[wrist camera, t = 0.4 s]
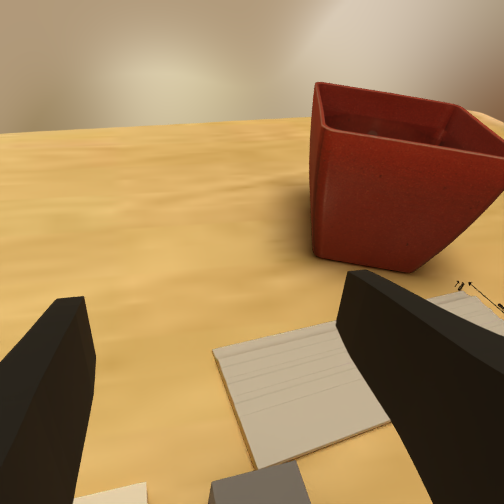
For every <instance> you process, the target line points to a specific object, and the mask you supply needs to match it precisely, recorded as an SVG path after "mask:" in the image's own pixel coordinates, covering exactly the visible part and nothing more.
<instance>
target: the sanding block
mask: <svg viewBox="0 0 504 504" xmlns="http://www.w3.org/2000/svg"><path fill="white" fill-rule="evenodd" d="M208 504H311V502H310V499H309V497H308V494H307V491H306V488H305V485H304V482H303V479H302V476H301V474H300V471H299V468H298V465H297V462H296V460H294V461H291V462H287V463H283V464H279V465H275V466H271V467H267V468H263V469H259V470H255V471H252V472H248V473H244V474H240V475H236V476H232V477H228V478H224V479H220V480H217V481H213V482H212V483H211V489H210V495H209V500H208Z"/></svg>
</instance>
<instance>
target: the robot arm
mask: <svg viewBox="0 0 504 504" xmlns="http://www.w3.org/2000/svg"><path fill="white" fill-rule="evenodd" d="M336 328H337V330H338V332H339V335H340V337H341V339H342V342H343V344H344V346H345V348H346V350H347V352H348V354H349V356H350V357H351V359H352V361H353V362H354V364H355V366H356V367H357V369H358V370H359V372H360V374H361V375H362V377H363V378H364V380H365V381H366V383H367V385H368V386H369V388H370V389H371V391H372V392H373V394H374V395H375V397H376V399H377V400H378V402H379V403H380V405H381V406H382V408H383V410H384V411H385V413H386V414H387V416H388V417H389V419H390V420H391V422H392V424H393V426H394V427H395V429H396V431H397V432H398V434H399V436H400V438H401V440H402V442H403V444H404V445H405V447H406V449H407V451H408V453H409V455H410V457H411V459H412V461H413V463H414V465H415V467H416V469H417V471H418V473H419V475H420V477H421V479H422V481H423V484H424V486H425V488H426V490H427V492H428V494H429V496H430V498H431V500H432V502H433V504H504V336H502V335H499V334H497V333H494V332H492V331H490V330H487V329H485V328H483V327H481V326H478V325H476V324H474V323H472V322H470V321H468V320H466V319H463V318H461V317H459V316H457V315H455V314H453V313H451V312H449V311H447V310H445V309H443V308H441V307H439V306H437V305H435V304H433V303H431V302H429V301H427V300H425V299H423V298H422V297H420V296H418V295H416V294H414V293H412V292H410V291H408V290H406V289H405V288H403V287H401V286H399V285H397V284H395V283H393V282H391V281H389V280H387V279H385V278H383V277H381V276H379V275H377V274H375V273H373V272H370V271H368V270H357V271H347V276H346V280H345V285H344V289H343V294H342V298H341V302H340V307H339V311H338V316H337V320H336ZM95 367H96V354H95V349H94V344H93V339H92V334H91V329H90V324H89V319H88V314H87V309H86V304H85V299H84V296H80V297H70V298H59V299H56V300H55V301H54V302H53V303H52V304H51V305H50V307H49V308H48V309H47V310H46V311H45V312H44V313H43V315H42V316H41V317H40V318H39V319H38V320H37V322H36V323H35V324H34V325H33V326H32V327H31V329H30V330H29V331H28V332H27V333H26V334H25V335H24V337H23V338H22V339H21V340H20V341H19V342H18V343H17V344H16V345H15V347H14V348H13V349H12V350H11V351H10V352H9V353H8V354H7V355H6V356H5V357H4V359H3V360H2V361H1V362H0V504H73V501H74V494H75V488H76V483H77V477H78V472H79V467H80V462H81V457H82V452H83V447H84V442H85V437H86V432H87V427H88V421H89V416H90V411H91V406H92V400H93V395H94V382H95Z"/></svg>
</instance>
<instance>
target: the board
mask: <svg viewBox="0 0 504 504" xmlns="http://www.w3.org/2000/svg"><path fill="white" fill-rule="evenodd" d="M73 504H148V500H147V485H146V482H142V483H138V484H133V485H129V486H125V487H121V488H116V489H112V490H108V491H103V492H99V493H95V494H91V495H86V496H82V497H78V498H74V501H73Z"/></svg>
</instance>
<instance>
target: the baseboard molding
mask: <svg viewBox="0 0 504 504" xmlns="http://www.w3.org/2000/svg"><path fill="white" fill-rule="evenodd" d="M457 282H458V283H459V281H457ZM458 283H457V284H458ZM462 283H463V282H462ZM468 283H469V286H470V284H471V283H472V282H468ZM457 284H456V285H457ZM462 285H463V286H464V283H463V284H462ZM462 285H461V286H462ZM461 286H460V287H461ZM463 286H462V287H463ZM472 286H473V285H472ZM455 287H456V286H455ZM460 287H459V288H460ZM462 287H461V288H462ZM473 287H474V286H473ZM459 288H458V290H459V292H455V293H450V294H446V295H442V296H438V297H433V298H429V299H425V300H427V301H429V302H431V303H433V304H435V305H437V306H439V307H441V308H443V309H445V310H447V311H449V312H451V313H453V314H455V315H457V316H459V317H461V318H463V319H466V320H468V321H470V322H472V323H474V324H476V325H478V326H481V327H483V328H485V329H487V330H490V331H492V332H494V333H497V334H499V335H502V336H504V321H503V320H502V319H500V318H499V317H498V316H497V315H496V314H494V313H493V311H492V310H491V309H490V308H488V307H487V306H485V305H484V304H483V303H482V302H481V300H480V299H479V298H477V297H476V296H469V295H468V294H466V293H465V292H464V291H460V290H461V288H460V289H459ZM474 288H475V287H474ZM475 289H476V288H475ZM476 290H477V289H476ZM479 292H480V291H479ZM480 293H481V292H480ZM481 294H482V293H481ZM482 295H483V294H482ZM483 296H484V295H483ZM484 297H485V296H484ZM486 298H487V297H486ZM487 299H488V298H487ZM488 300H489V299H488ZM489 301H490V300H489ZM490 302H491V301H490ZM491 303H492V302H491ZM493 304H494V303H493ZM494 305H495V304H494ZM499 305H500V306H499ZM495 306H496V305H495ZM498 306H499V307H501V308H502V307H503V306H502V305H501V304H500V303H499V304H498ZM496 307H497V306H496ZM497 308H498V307H497ZM498 309H499V308H498ZM503 309H504V307H503V308H502V310H503ZM502 310H501V311H502ZM503 311H504V310H503ZM503 311H502V312H503ZM503 313H504V312H503ZM212 352H213V355H214V358H215V361H216V363H217V366H218V369H219V372H220V375H221V377H222V380H223V383H224V386H225V389H226V391H227V394H228V397H229V400H230V402H231V405H232V408H233V411H234V414H235V416H236V419H237V422H238V425H239V427H240V430H241V433H242V436H243V439H244V441H245V444H246V447H247V450H248V452H249V455H250V458H251V461H252V464H253V466H254V469H255V470H259V469H263V468H267V467H271V466H275V465H279V464H282V463H284V462H287V461H289V460H292V459H295V458H297V457H300V456H303V455H305V454H308V453H311V452H313V451H316V450H318V449H321V448H324V447H326V446H329V445H332V444H334V443H337V442H339V441H342V440H345V439H347V438H350V437H353V436H355V435H358V434H360V433H363V432H366V431H368V430H371V429H374V428H376V427H379V426H381V425H384V424H387V423H389V422H391V420H390V419H389V417H388V416H387V414H386V413H385V411H384V410H383V408H382V406H381V405H380V403H379V402H378V400H377V399H376V397H375V395H374V394H373V392H372V391H371V389H370V388H369V386H368V385H367V383H366V381H365V380H364V378H363V377H362V375H361V374H360V372H359V370H358V369H357V367H356V366H355V364H354V362H353V361H352V359H351V357H350V356H349V354H348V352H347V350H346V348H345V346H344V344H343V342H342V339H341V337H340V335H339V332H338V330H337V328H336V320H335V321H331V322H327V323H323V324H318V325H314V326H310V327H306V328H301V329H297V330H293V331H289V332H284V333H280V334H276V335H272V336H267V337H263V338H259V339H255V340H250V341H246V342H242V343H238V344H233V345H229V346H225V347H221V348H216V349H212Z"/></svg>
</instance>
